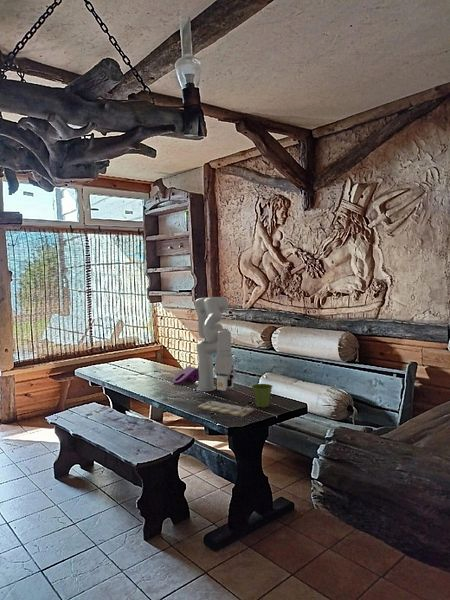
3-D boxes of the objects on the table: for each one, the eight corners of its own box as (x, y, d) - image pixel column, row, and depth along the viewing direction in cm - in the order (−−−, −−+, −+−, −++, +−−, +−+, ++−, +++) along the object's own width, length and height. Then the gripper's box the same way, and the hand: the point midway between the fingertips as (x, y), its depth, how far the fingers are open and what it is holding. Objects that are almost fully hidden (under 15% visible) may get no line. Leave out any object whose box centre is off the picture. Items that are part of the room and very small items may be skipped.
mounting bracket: (182, 393, 308) (200, 377, 318) (178, 383, 305) (196, 367, 315) (174, 390, 315) (192, 375, 325) (169, 381, 311) (187, 365, 322)
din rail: (205, 404, 258) (205, 401, 258) (208, 403, 261) (208, 400, 261) (243, 412, 243) (243, 409, 243) (247, 410, 246) (247, 407, 246)
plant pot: (277, 405, 258) (276, 385, 257) (264, 410, 249) (264, 390, 248) (260, 401, 265) (260, 382, 265) (247, 406, 257) (247, 386, 256)
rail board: (197, 407, 256) (197, 406, 256) (210, 402, 266) (210, 400, 266) (242, 416, 239) (242, 415, 239) (254, 410, 248) (254, 409, 248)
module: (216, 389, 248) (216, 375, 248) (226, 386, 256) (225, 372, 255) (224, 390, 246) (223, 376, 245) (233, 387, 253) (233, 373, 252)
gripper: (207, 352, 252) (208, 385, 253) (233, 355, 242) (234, 389, 243) (216, 350, 258) (216, 382, 259) (241, 353, 248) (242, 386, 249)
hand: (225, 385), depth 251 cm, fingers closed on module, 5 cm apart
